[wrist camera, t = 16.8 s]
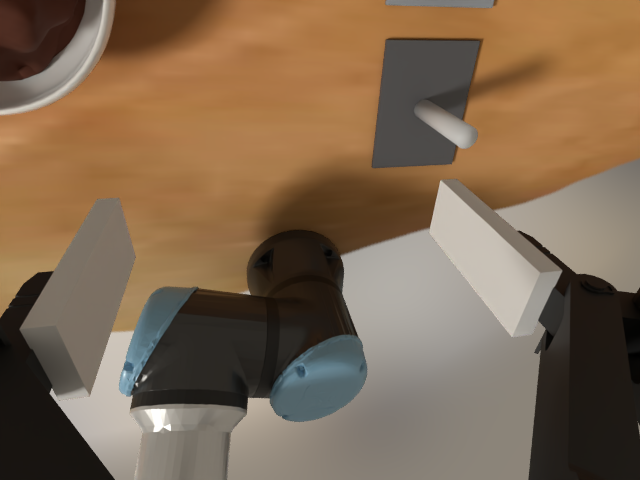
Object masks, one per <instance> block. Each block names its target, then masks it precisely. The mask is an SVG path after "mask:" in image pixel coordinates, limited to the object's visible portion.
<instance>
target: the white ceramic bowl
mask: <svg viewBox="0 0 640 480" xmlns="http://www.w3.org/2000/svg"><path fill="white" fill-rule="evenodd" d="M115 8H116V0H0V116H1V115H13V114H19V113H25V112H29V111H33V110H37V109H40V108H42V107H45V106H48V105H50V104H52V103H54V102H56V101H58V100H60V99H62V98H63V97H65V96H66V95H68V94H69V93H71V92H72V91H73V90H74V89H75V88H77V87H78V86H79V85H80V84H81V83H82V82H83V81H84V80H85V79H86V78H87V77H88V76H89V74H90V73H91V72H92V71H93V70H94V68H95V67H96V65H97V63H98V62H99V60H100V59H101V57H102V55H103V53H104V51H105V49H106V46H107V43H108V41H109V38H110V35H111V31H112V27H113V22H114V16H115Z"/></svg>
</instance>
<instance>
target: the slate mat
mask: <svg viewBox="0 0 640 480" xmlns="http://www.w3.org/2000/svg"><path fill="white" fill-rule="evenodd" d="M493 3H494V0H386V5H403V6H438V7H474V8H492V7H493Z"/></svg>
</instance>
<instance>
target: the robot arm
mask: <svg viewBox="0 0 640 480" xmlns="http://www.w3.org/2000/svg"><path fill="white" fill-rule="evenodd" d="M429 234H430V235H431V236H432V237H433V239H434V240H435V241H436V243H437V244H438V245H439V246H440V248H441V249H442V250H443V251H444V253H445V254H446V255H447V256H448V258H449V259H450V260H451V261H452V263H453V264H454V265H455V266H456V267H457V269H458V270H459V271H460V273H461V274H462V275H463V276H464V278H465V279H466V280H467V281H468V283H469V284H470V285H471V286H472V288H473V289H474V290H475V291H476V293H477V294H478V295H479V296H480V297H481V299H482V300H483V301H484V303H485V304H486V305H487V306H488V307H489V309H490V310H491V311H492V313H493V314H494V315H495V316H496V318H497V319H498V320H499V321H500V323H501V324H502V325H503V326H504V328H505V329H506V330H507V331H508V333H509V334H510V335H511V336H512V337H516V336H524V335H530V334H532V333H533V331H534V329H535V327H536V325H537V323H538V321H539V322H540V323H541V324H542V325H543V326H544V327H545V328H546V330H545V332H544V334H543V336H542V338H541V340H540V342H539V344H538V346H537V348H536V350H535V352H534V353H537V354H538V353H539V351H540V350H541V353H540V364H539V375H538V385H537V396H536V406H535V417H534V427H533V438H532V448H531V459H530V469H529V480H640V435H639V429H638V423H639V425H640V288H639V290H638V291H637V293H629V292H621V291H617V290H616V289H615V288H614V287H613V286H612V285H611V284H610V283H608V282H606V281H605V280H603V279H601V278H598V277H595V276H592V275H587V274H576V273H575V272H573V271H572V270H571V269H570V268H569V267H567V266H566V265H565V264H564V263H563V262H562V261H560V260H559V259H558V258H557V257H556V256H554V255H553V254H550V251H549V250H547V249H546V248H545V247H542V245H541V244H540V243H539V242H538V241H536V240H535V239H534V238H533V237H531V236H529V235H527V234H525V233H523V232H521V231H516V230H515V229H514V228H513V227H512V226H511V225H509V224H508V223H507V222H506V221H505V220H504V219H502V218H501V217H500V216H499V215H498V214H497V213H495V212H494V211H493V210H492V209H491V208H490V207H489V206H487V205H486V204H485V203H484V202H483V201H482V200H480V199H479V198H478V197H477V196H476V195H475V194H473V193H472V192H471V191H470V190H469V189H468V188H467V187H465V186H464V185H463V184H462V183H461V182H460V181H458V180H457V179H448V180H441V181H440V185H439V190H438V194H437V199H436V203H435V208H434V212H433V217H432V221H431V226H430V230H429ZM135 258H136V256H135V253H134V249H133V245H132V242H131V238H130V235H129V231H128V228H127V224H126V220H125V217H124V213H123V210H122V206H121V203H120V199H119V198H108V199H97V200H96V202H95V204H94V205H93V207H92V209H91V210H90V212H89V214H88V215H87V217H86V219H85V220H84V222H83V224H82V225H81V227H80V229H79V230H78V232H77V234H76V235H75V237H74V239H73V240H72V242H71V244H70V245H69V247H68V249H67V250H66V252H65V254H64V255H63V257H62V259H61V260H60V262H59V264H58V266H57V267H56V269H55V271H51V272H39V273H37V274H36V275H34V276H33V277H32V278H30V279H29V280H28V281H27V282H25V283H24V284H23V285H22V287H21V288H20V290H19V291H18V293H17V294H16V296H15V298H14V299H13V300H12V302H11V303H10V305H9V308H8V309H6V311H5V312H4V313H3V315H2V316H1V318H0V480H115V479H114V478H113V476H112V475H111V474H110V473H109V471H108V470H107V469H106V467H105V466H104V465H103V463H102V462H101V461H100V460H99V458H98V457H97V456H96V454H95V453H94V452H93V450H92V449H91V448H90V446H89V445H88V444H87V442H86V441H85V440H84V438H83V437H82V436H81V435H80V433H79V432H78V431H77V429H76V428H75V427H74V425H73V424H72V423H71V421H70V420H69V419H68V418H67V416H66V415H65V413H64V412H63V411H62V409H61V408H60V407H59V406H58V404H57V403H56V402H55V400H54V399H53V398H52V396H51V395H50V394H49V393H50V391H51V388H52V389H53V391H54V393H55V394H56V396H57V398H58V400H59V401H61V400H67V399H75V398H82V397H89V396H90V394H91V390H92V387H93V385H94V382H95V379H96V376H97V372H98V369H99V366H100V364H101V360H102V357H103V354H104V351H105V348H106V345H107V342H108V339H109V336H110V333H111V330H112V327H113V324H114V321H115V318H116V315H117V312H118V309H119V306H120V303H121V300H122V297H123V294H124V291H125V288H126V285H127V282H128V279H129V276H130V273H131V270H132V267H133V264H134V261H135ZM343 278H344V267H343V262H342V259H341V257H340V254H339V252H338V250H337V248H336V247H335V245H334V244H333V243H332V242H331V241H330V240H328V239H327V238H326V237H324V236H322V235H320V234H318V233H315V232H311V231H304V230H294V231H287V232H283V233H280V234H277V235H275V236H273V237H271V238H269V239H267V240H266V241H264V242H263V243H262V244H261V245H260V246H259V247H258V248H257V249H256V250H255V251H254V253H253V254H252V256H251V258H250V260H249V262H248V266H247V283H248V288H249V291H250V294H251V295H247V294H238V293H230V292H222V291H215V290H207V289H199V288H198V287H192V288H182V287H162V288H159V289H157V290H156V291H154V292H153V293H152V294H151V296H150V297H149V299H148V300H147V302H146V304H145V306H144V308H143V310H142V313H141V315H140V318H139V320H138V323H137V325H136V328H135V331H134V334H133V337H132V339H131V343H130V345H129V348H128V352H127V355H126V362H125V363H124V368H123V370H122V373H121V377H120V382H119V390H120V392H121V393H122V394H125V395H126V396H131V395H133V398H132V403H131V408H130V415H131V416H132V418H133V419H134V420H135V422H136V423H137V424H138V426H139V427H140V429H141V432H142V439H141V444H140V450H139V455H138V461H137V466H136V472H135V477H134V480H227V474H228V461H229V448H230V437H231V432H232V430H233V429H234V427H235V426H236V425H237V424H238V423H239V422H240V421H241V420H242V419H243V417H245V416H246V414H247V403H248V398H270V404H271V406H272V408H273V409H274V411H275V413H276V414H277V415H278V416H282V418H283V419H285V420H289V421H294V422H304V421H311V420H315V419H319V418H322V417H325V416H327V415H330V414H332V413H334V412H336V411H337V410H339V409H340V408H342V407H344V406H345V405H347V404H348V403H349V402H350V401H351V400H352V399H354V397H355V396H356V395H357V394H358V393H359V391H360V390H361V389H362V387H363V385H364V383H365V380H366V377H367V364H366V360H365V356H364V352H363V345H362V342H361V340H360V339H359V338H358V335H357V332H356V330H355V327H354V324H353V322H352V319H351V316H350V314H349V311H348V308H347V306H346V303H345V300H344V298H343V295H342V288H343Z"/></svg>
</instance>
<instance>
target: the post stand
mask: <svg viewBox="0 0 640 480" xmlns="http://www.w3.org/2000/svg"><path fill="white" fill-rule="evenodd" d="M479 44H480V41H470V40H386V42H385V51H384V60H383V69H382V78H381V87H380V96H379V105H378V114H377V123H376V132H375V141H374V150H373V159H372V168H385V167H405V166H425V165H444V164H452V161H453V157H454V152H455V148H456V145H457V146H459V147H460V148H463V149H465V148H469V147H471V146H472V145H473V144H474V143H475V142H476V140H477V137H478V132H477V130H476V129H475V128H474V127H472V126H471V125H469V124H467V123H466V122H464V121H462V118H463V113H464V109H465V105H466V100H467V96H468V92H469V87H470V83H471V79H472V74H473V70H474V66H475V61H476V57H477V53H478V49H479Z"/></svg>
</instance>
